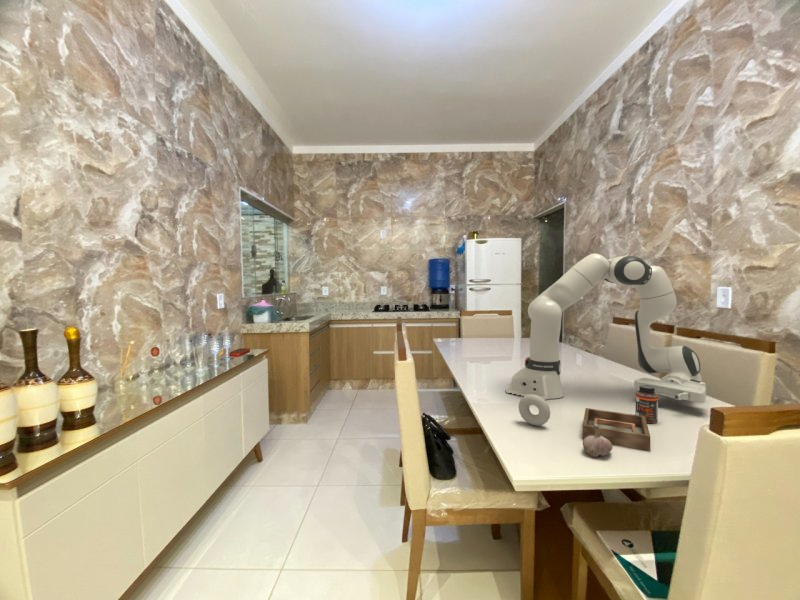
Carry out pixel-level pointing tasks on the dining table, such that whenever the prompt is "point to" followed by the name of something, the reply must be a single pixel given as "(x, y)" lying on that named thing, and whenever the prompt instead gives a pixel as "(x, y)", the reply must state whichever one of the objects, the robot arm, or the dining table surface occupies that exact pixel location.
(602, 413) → the walled box
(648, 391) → the supplement bottle
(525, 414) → the donut
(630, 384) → the dining table surface
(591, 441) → the garlic bulb
